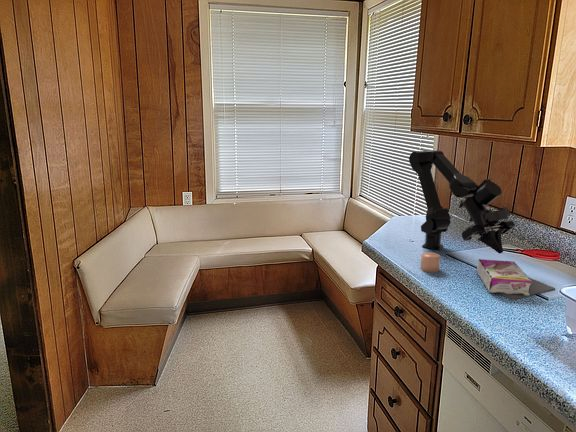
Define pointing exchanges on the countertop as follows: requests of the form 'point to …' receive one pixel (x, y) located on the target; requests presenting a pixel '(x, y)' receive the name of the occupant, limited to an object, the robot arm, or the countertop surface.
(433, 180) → the robot arm
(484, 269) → the candy bar box
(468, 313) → the countertop surface
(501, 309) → the countertop surface
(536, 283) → the mat
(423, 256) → the tan short cylinder
